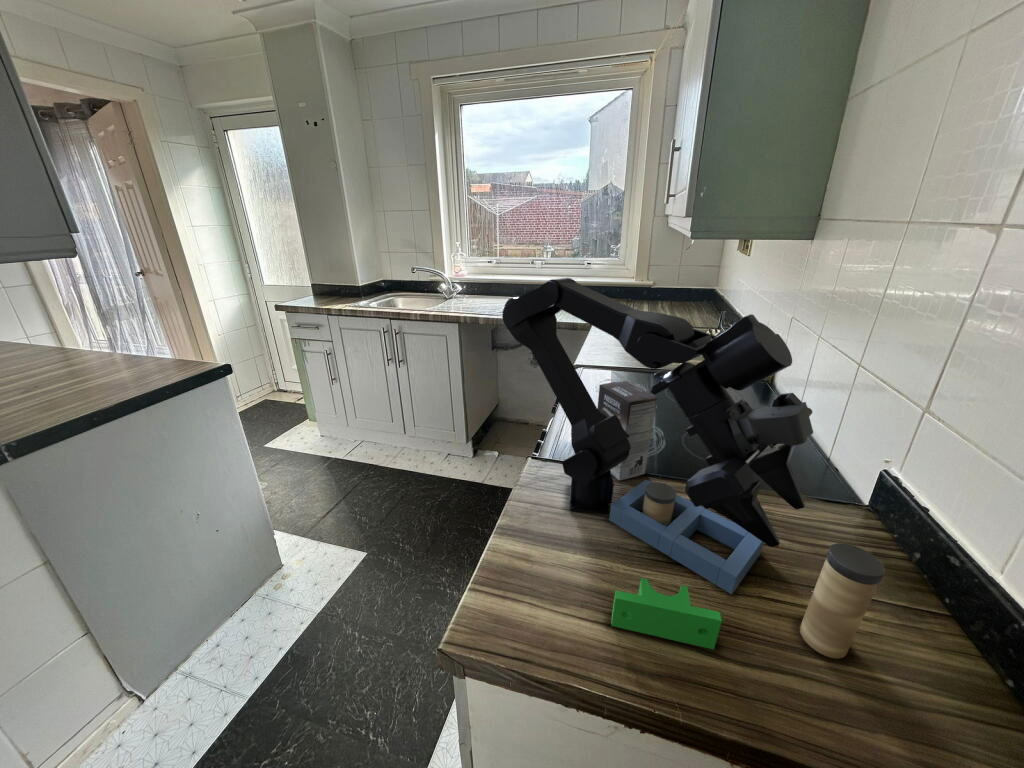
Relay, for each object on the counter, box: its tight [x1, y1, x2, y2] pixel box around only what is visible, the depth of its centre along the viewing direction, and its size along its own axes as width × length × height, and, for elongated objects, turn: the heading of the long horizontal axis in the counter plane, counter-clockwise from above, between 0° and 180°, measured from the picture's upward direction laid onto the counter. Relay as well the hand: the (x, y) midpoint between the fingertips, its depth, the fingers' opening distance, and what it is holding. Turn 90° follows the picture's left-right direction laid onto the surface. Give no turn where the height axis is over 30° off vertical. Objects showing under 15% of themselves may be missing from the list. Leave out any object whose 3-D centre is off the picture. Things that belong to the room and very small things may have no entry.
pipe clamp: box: [610, 577, 723, 650], centre depth 47 cm, size 11×4×5 cm, turn 76°
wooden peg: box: [799, 542, 886, 659], centre depth 44 cm, size 4×4×12 cm
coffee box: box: [597, 380, 658, 482], centre depth 76 cm, size 9×6×16 cm
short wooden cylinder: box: [641, 481, 677, 527], centre depth 63 cm, size 4×4×6 cm
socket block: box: [608, 479, 765, 595], centre depth 61 cm, size 19×10×3 cm, turn 42°
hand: (788, 525), depth 46 cm, fingers open, 9 cm apart
